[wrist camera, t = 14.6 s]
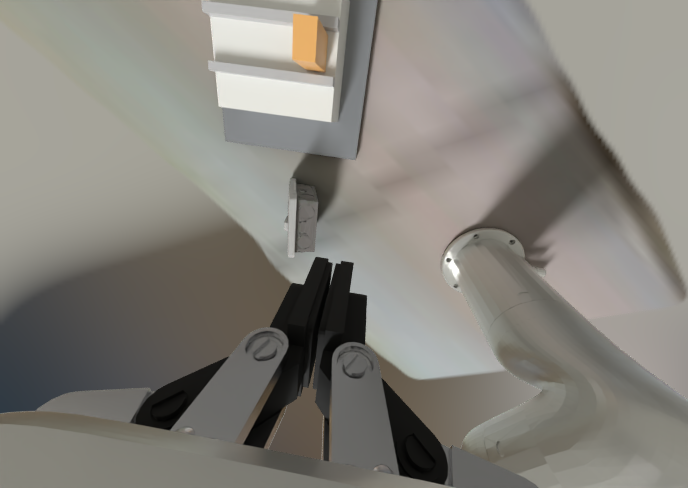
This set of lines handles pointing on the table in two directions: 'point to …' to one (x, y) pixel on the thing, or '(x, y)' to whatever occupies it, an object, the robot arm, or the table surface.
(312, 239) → the electrical switch
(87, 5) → the table surface
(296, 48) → the handle
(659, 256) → the table surface
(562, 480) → the robot arm
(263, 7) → the block
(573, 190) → the table surface
